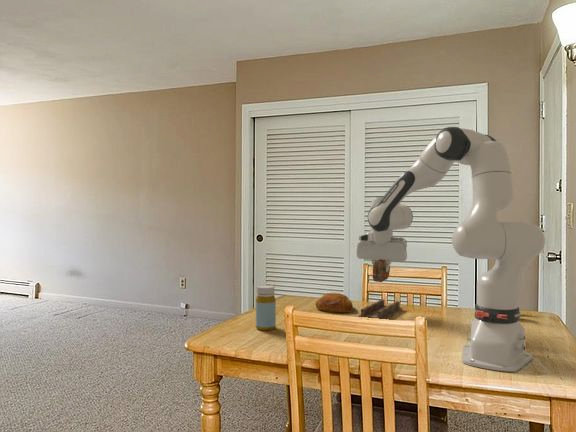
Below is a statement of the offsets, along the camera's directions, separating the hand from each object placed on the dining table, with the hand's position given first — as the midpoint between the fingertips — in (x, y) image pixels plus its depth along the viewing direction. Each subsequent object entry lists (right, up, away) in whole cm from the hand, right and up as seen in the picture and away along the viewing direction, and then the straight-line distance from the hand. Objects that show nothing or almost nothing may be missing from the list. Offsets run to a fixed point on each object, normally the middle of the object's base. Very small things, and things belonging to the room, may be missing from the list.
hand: (381, 271), depth 186 cm
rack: (0, -17, 0) cm, 17 cm away
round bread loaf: (-17, -17, +9) cm, 26 cm away
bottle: (-45, -18, -20) cm, 53 cm away
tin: (0, -4, 0) cm, 4 cm away
